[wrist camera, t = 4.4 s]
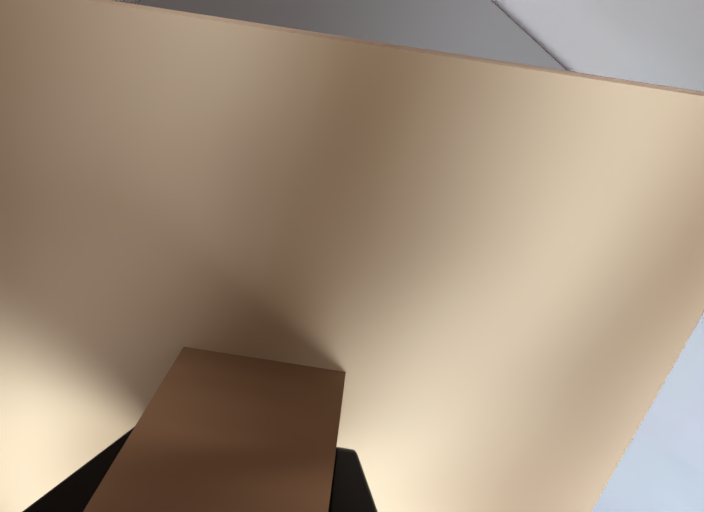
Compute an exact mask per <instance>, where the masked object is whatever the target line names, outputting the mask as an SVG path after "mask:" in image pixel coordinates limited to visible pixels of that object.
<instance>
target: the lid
mask: <svg viewBox="0 0 704 512" xmlns="http://www.w3.org/2000/svg"><path fill="white" fill-rule="evenodd" d="M703 312H704V92H700V91H694V90H687V89H681V88H674V87H668V86H661V85H655V84H648V83H642V82H635V81H629V80H623V79H616V78H610V77H603V76H597V75H590V74H584V73H577V72H571V71H564V70H558V69H551V68H545V67H538V66H532V65H525V64H519V63H513V62H506V61H500V60H493V59H487V58H480V57H474V56H467V55H461V54H454V53H448V52H441V51H435V50H428V49H422V48H416V47H409V46H403V45H396V44H390V43H383V42H377V41H370V40H364V39H357V38H351V37H344V36H338V35H331V34H325V33H319V32H312V31H306V30H299V29H293V28H286V27H280V26H273V25H267V24H260V23H254V22H247V21H241V20H234V19H228V18H222V17H215V16H209V15H202V14H196V13H189V12H183V11H176V10H170V9H163V8H157V7H150V6H144V5H137V4H131V3H125V2H118V1H112V0H0V512H22V511H24V510H25V509H26V508H28V507H29V506H30V505H31V504H33V503H34V502H35V501H37V500H38V499H39V498H41V497H42V496H43V495H45V494H46V493H47V492H49V491H50V490H51V489H53V488H54V487H55V486H57V485H58V484H59V483H61V482H62V481H63V480H65V479H66V478H67V477H69V476H70V475H71V474H72V473H74V472H75V471H76V470H78V469H79V468H80V467H82V466H83V465H84V464H86V463H87V462H88V461H90V460H91V459H92V458H94V457H95V456H96V455H98V454H99V453H100V452H102V451H103V450H104V449H106V448H107V447H108V446H109V445H111V444H112V443H113V442H115V441H116V440H117V439H119V438H120V437H121V436H123V435H124V434H125V433H127V432H128V431H129V430H131V429H132V428H133V427H134V429H133V430H132V432H131V434H130V435H129V437H128V439H127V440H126V442H125V444H124V445H123V447H122V449H121V450H120V452H119V453H118V455H117V457H116V458H115V460H114V462H113V463H112V465H111V467H110V468H109V470H108V471H107V473H106V475H105V476H104V478H103V480H102V481H101V483H100V485H99V486H98V488H97V490H96V491H95V493H94V494H93V496H92V498H91V499H90V501H89V503H88V504H87V506H86V508H85V509H84V511H83V512H328V510H329V502H330V494H331V486H332V478H333V470H334V462H335V454H336V447H342V448H348V449H353V450H355V451H356V452H357V454H358V457H359V460H360V463H361V465H362V468H363V471H364V474H365V477H366V480H367V482H368V485H369V488H370V491H371V494H372V497H373V500H374V502H375V505H376V508H377V511H378V512H592V510H593V508H594V506H595V504H596V503H597V501H598V499H599V497H600V496H601V494H602V492H603V490H604V488H605V487H606V485H607V483H608V481H609V480H610V478H611V476H612V474H613V472H614V471H615V469H616V467H617V465H618V463H619V462H620V460H621V458H622V456H623V455H624V453H625V451H626V449H627V447H628V446H629V444H630V442H631V440H632V439H633V437H634V435H635V433H636V431H637V430H638V428H639V426H640V424H641V423H642V421H643V419H644V417H645V415H646V414H647V412H648V410H649V408H650V407H651V405H652V403H653V401H654V399H655V398H656V396H657V394H658V392H659V391H660V389H661V387H662V385H663V383H664V382H665V380H666V378H667V376H668V375H669V373H670V371H671V369H672V367H673V366H674V364H675V362H676V360H677V359H678V357H679V355H680V353H681V351H682V350H683V348H684V346H685V344H686V343H687V341H688V339H689V337H690V335H691V334H692V332H693V330H694V328H695V327H696V325H697V323H698V321H699V319H700V318H701V316H702V314H703Z"/></svg>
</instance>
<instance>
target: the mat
mask: <svg viewBox="0 0 704 512" xmlns="http://www.w3.org/2000/svg"><path fill="white" fill-rule="evenodd" d="M138 5H144V6H150V7H157V8H163V9H170V10H176V11H183V12H189V13H196V14H202V15H209V16H215V17H222V18H228V19H234V20H241V21H247V22H254V23H260V24H267V25H273V26H280V27H286V28H293V29H299V30H306V31H312V32H319V33H325V34H331V35H338V36H344V37H351V38H357V39H364V40H370V41H377V42H383V43H390V44H396V45H403V46H409V47H416V48H422V49H428V50H435V51H441V52H448V53H454V54H461V55H467V56H474V57H480V58H487V59H493V60H500V61H506V62H513V63H519V64H525V65H532V66H538V67H545V68H551V69H558V70H564V71H567V70H565V69H564V68H563V67H562V66H561V65H560V64H559V63H558V62H557V61H556V60H555V59H554V58H553V57H551V56H550V55H549V54H548V53H547V52H546V51H545V50H544V49H543V48H542V47H541V46H540V45H538V44H537V43H536V42H535V41H534V40H533V39H532V38H531V37H530V36H529V35H528V34H527V33H525V32H524V31H523V30H522V29H521V28H520V27H519V26H518V25H517V24H516V23H515V22H514V21H513V20H511V19H510V18H509V17H508V16H507V15H506V14H505V13H504V12H503V11H502V10H501V9H500V8H498V7H497V6H496V5H495V4H494V3H493V2H492V1H491V0H140V1H139V3H138Z"/></svg>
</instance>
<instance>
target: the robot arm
mask: <svg viewBox="0 0 704 512" xmlns="http://www.w3.org/2000/svg"><path fill="white" fill-rule="evenodd" d="M133 429H134V427H133V428H132V429H131V430H129V431H128V432H127V433H125V434H124V435H123V436H121V437H120V438H119V439H117V440H116V441H115V442H113V443H112V444H111V445H109V446H108V447H107V448H106V449H104V450H103V451H102V452H100V453H99V454H98V455H96V456H95V457H94V458H92V459H91V460H90V461H88V462H87V463H86V464H84V465H83V466H82V467H80V468H79V469H78V470H76V471H75V472H74V473H72V474H71V475H70V476H69V477H67V478H66V479H65V480H63V481H62V482H61V483H59V484H58V485H57V486H55V487H54V488H53V489H51V490H50V491H49V492H47V493H46V494H45V495H43V496H42V497H41V498H39V499H38V500H37V501H35V502H34V503H33V504H31V505H30V506H29V507H28V508H26V509H25V510H24V511H22V512H83V511H84V509H85V508H86V506H87V504H88V503H89V501H90V499H91V498H92V496H93V494H94V493H95V491H96V490H97V488H98V486H99V485H100V483H101V481H102V480H103V478H104V476H105V475H106V473H107V471H108V470H109V468H110V467H111V465H112V463H113V462H114V460H115V458H116V457H117V455H118V453H119V452H120V450H121V449H122V447H123V445H124V444H125V442H126V440H127V439H128V437H129V435H130V434H131V432H132V430H133ZM328 512H378V511H377V508H376V505H375V502H374V500H373V497H372V494H371V491H370V488H369V485H368V482H367V480H366V477H365V474H364V471H363V468H362V465H361V463H360V460H359V457H358V454H357V452H356V451H355V450H353V449H348V448H342V447H336V454H335V462H334V470H333V478H332V486H331V494H330V502H329V510H328Z"/></svg>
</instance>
